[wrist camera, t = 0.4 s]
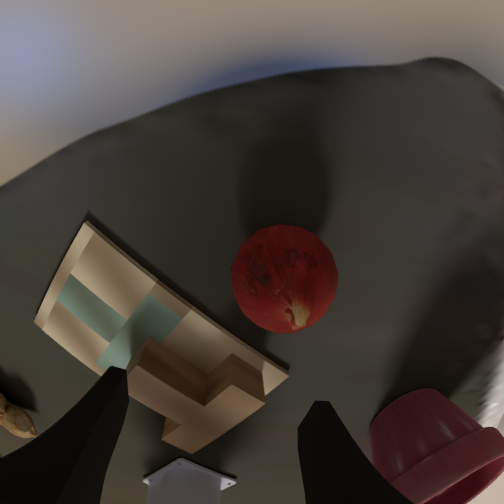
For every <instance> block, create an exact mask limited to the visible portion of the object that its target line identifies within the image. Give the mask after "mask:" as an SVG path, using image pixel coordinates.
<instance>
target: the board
mask: <svg viewBox="0 0 504 504" xmlns="http://www.w3.org/2000/svg"><path fill="white" fill-rule="evenodd" d="M34 323H35V324H37V325H38V326H39V327H40V328H41V329H42V330H43V331H44V332H46V333H47V334H48V335H49V336H50V337H51V338H53V339H54V340H55V341H56V342H57V343H59V344H60V345H61V346H62V347H63V348H65V349H66V350H67V351H68V352H70V353H71V354H72V355H73V356H75V357H76V358H77V359H79V360H80V361H81V362H82V363H84V364H85V365H86V366H88V367H89V368H91V369H92V370H93V371H95V372H96V373H97V374H99V375H100V376H102V375H103V374H104V373H105V371H106V370H107V369H108V368H109V367H110V366H115V367H118V368H122V369H126V367H127V365H128V363H129V361H130V358H131V357H132V356H133V355H134V354H135V352H136V351H137V350H138V349H139V348H140V346H141V345H142V344H143V343H144V342H145V341H146V339H147V338H148V337H149V336H150V337H151V338H153V339H154V340H155V341H157V342H158V343H160V344H161V345H163V346H164V347H165V348H167V349H168V350H170V351H171V352H173V353H174V354H176V355H177V356H179V357H180V358H182V359H183V360H185V361H186V362H188V363H189V364H191V365H192V366H194V367H196V368H197V369H199V370H200V371H202V372H203V373H205V374H207V375H209V374H210V373H211V372H212V371H213V370H214V369H215V368H216V367H217V366H219V365H220V364H221V363H222V362H223V361H224V360H225V359H226V358H227V357H228V356H229V355H231V354H232V353H233V354H235V355H236V356H238V357H239V358H241V359H242V360H244V361H245V362H247V363H249V364H250V365H252V366H253V367H255V368H256V369H258V370H260V371H261V372H262V375H263V384H264V393H265V395H267V394H268V393H269V392H270V391H272V390H273V389H274V388H275V387H277V386H278V385H279V384H280V383H282V382H283V381H284V380H285V379H286V378H288V377H289V373H288V371H287V370H285V369H284V368H282V367H280V366H279V365H277V364H276V363H274V362H273V361H271V360H270V359H268V358H267V357H265V356H264V355H262V354H261V353H259V352H258V351H256V350H255V349H253V348H252V347H250V346H249V345H247V344H246V343H244V342H243V341H242V340H240V339H239V338H237V337H236V336H234V335H233V334H231V333H230V332H229V331H227V330H226V329H224V328H223V327H221V326H220V325H219V324H217V323H216V322H214V321H213V320H212V319H210V318H209V317H208V316H206V315H205V314H203V313H202V312H201V311H199V310H198V309H197V308H195V307H194V306H193V305H191V304H190V303H189V302H187V301H186V300H185V299H183V298H182V297H181V296H179V295H178V294H177V293H175V292H174V291H173V290H171V289H170V288H169V287H167V286H166V285H165V284H164V283H162V282H161V281H160V280H159V279H157V278H156V277H155V276H153V275H152V274H151V273H150V272H148V271H147V270H146V269H145V268H143V267H142V266H141V265H140V264H138V263H137V262H136V261H135V260H134V259H132V258H131V257H130V256H129V255H127V254H126V253H125V252H124V251H123V250H121V249H120V248H119V247H118V246H117V245H115V244H114V243H113V242H112V241H111V240H110V239H108V238H107V237H106V236H105V235H104V234H103V233H101V232H100V231H99V230H98V229H97V228H96V227H94V226H93V225H92V224H91V223H90V222H89V221H87V222H85V223H84V224H83V226H82V227H81V229H80V231H79V232H78V234H77V236H76V238H75V239H74V241H73V243H72V245H71V247H70V248H69V250H68V252H67V254H66V256H65V258H64V260H63V261H62V263H61V265H60V267H59V269H58V271H57V273H56V275H55V277H54V279H53V281H52V283H51V285H50V287H49V289H48V292H47V294H46V296H45V298H44V300H43V302H42V305H41V307H40V309H39V311H38V314H37V316H36V318H35V321H34ZM128 395H129V394H128ZM130 396H131V395H130ZM131 397H133V396H131ZM133 398H134V397H133ZM135 399H136V398H135ZM136 400H137V399H136ZM138 401H139V400H138ZM139 402H141V401H139ZM141 403H142V402H141ZM143 404H144V403H143ZM144 405H146V404H144ZM146 406H147V405H146ZM148 407H149V406H148ZM149 408H151V407H149ZM151 409H152V408H151ZM153 410H154V409H153ZM154 411H156V410H154ZM156 412H157V411H156ZM158 413H159V412H158ZM160 414H161V413H160ZM161 415H163V414H161ZM163 416H164V415H163ZM165 417H166V416H165Z"/></svg>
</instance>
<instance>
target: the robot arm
mask: <svg viewBox="0 0 504 504" xmlns="http://www.w3.org/2000/svg"><path fill="white" fill-rule="evenodd" d="M128 403H129V395H128V381H127V370H126V369H122V368H118V367H115V366H110V367H109V368H108V369H107V370H106V371H105V373H104V374H103V375H102V376H101V378H100V379H99V380H98V381H97V382H96V383H95V384H94V386H93V387H92V388H91V389H90V390H89V391H88V392H87V393H86V394H85V395H84V396H83V397H82V399H81V400H80V401H79V402H78V403H77V404H76V405H75V406H74V407H73V408H72V409H70V410H69V411H68V412H67V413H66V414H65V415H64V416H63V417H62V418H61V419H60V420H58V421H57V422H56V423H55V424H54V425H52V426H51V427H50V428H49V429H47V430H46V431H45V432H44V433H42V434H41V435H39V436H38V437H36V438H35V439H34V440H32V441H31V442H29V443H28V444H26V445H24V446H23V447H21V448H19V449H17V450H15V451H14V452H12V453H10V454H8V455H6V456H4V457H2V458H0V504H100V498H101V493H102V488H103V483H104V478H105V474H106V471H107V468H108V465H109V462H110V459H111V456H112V454H113V451H114V448H115V445H116V443H117V440H118V437H119V435H120V432H121V429H122V426H123V424H124V420H125V416H126V412H127V408H128ZM298 453H299V460H300V466H301V472H302V479H303V485H304V491H305V499H306V504H414V503H413V502H411V501H410V500H409V499H407V498H406V497H405V496H404V495H402V494H401V493H400V492H399V491H398V490H397V489H395V488H394V487H393V486H392V485H391V484H390V483H389V482H388V481H387V480H386V479H385V478H384V477H383V476H382V475H381V474H380V473H379V472H378V471H377V470H376V468H375V467H374V466H373V465H372V464H371V463H370V461H369V460H368V459H367V457H366V456H365V455H364V454H363V452H362V451H361V449H360V448H359V447H358V445H357V444H356V442H355V441H354V439H353V438H352V437H351V435H350V433H349V432H348V430H347V429H346V427H345V426H344V424H343V423H342V421H341V419H340V418H339V416H338V415H337V413H336V411H335V410H334V408H333V407H332V405H331V403H330V402H329V401H315V402H314V403H313V405H312V406H311V408H310V410H309V411H308V413H307V414H306V416H305V418H304V419H303V421H302V422H301V424H300V425H299V427H298ZM143 482H144V483H146V484H148V485H149V488H148V493H147V498H146V503H145V504H221V490H223V489H225V488H227V487H229V486H231V485H234V484H236V479H233V478H231V477H228V476H225V475H223V474H220V473H217V472H215V471H212V470H210V469H207V468H205V467H202V466H200V465H198V464H195V463H193V462H191V461H189V460H186V459H184V458H178V459H177V460H175V461H173V462H172V463H170V464H168V465H167V466H165V467H163V468H162V469H160V470H158V471H156V472H155V473H153V474H151V475H149V476H148V477H146V478H144V479H143Z"/></svg>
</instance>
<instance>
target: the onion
mask: <svg viewBox="0 0 504 504" xmlns="http://www.w3.org/2000/svg"><path fill="white" fill-rule="evenodd" d="M231 274H232V287H233V295H234V297H235V299H236V301H237V302H238V304H239V306H240V308H241V310H242V312H243V313H244V315H245V316H247V317H248V318H249V319H250V320H252V321H253V322H254V323H255V324H257V325H258V326H260V327H262V328H264V329H267V330H270V331H273V332H275V333H291V332H297V331H300V330H302V329H305V328H307V327H310V326H311V325H313V324H314V323H315V322H316V321H318V320H319V319H320V318H321V317H323V316H324V314H325V313H326V311H327V310H328V308H329V306H330V305H331V303H332V301H333V300H334V298H335V293H336V288H337V282H338V272H337V268H336V265H335V261H334V258H333V255H332V253H331V252H330V250H329V249H328V248H327V246H326V245H325V244H324V243H323V242H322V241H321V239H320V238H319V237H318V236H316V235H314V234H312V233H310V232H309V231H307V230H305V229H303V228H301V227H299V226H291V225H282V224H278V225H274V226H270V227H267V228H263V229H260V230H257V231H256V232H255V233H254V234H253V235H252V236H250V237H249V238H248V239H247V240H246V241H245V242H244V243H242V245H241V247H240V249H239V251H238V253H237V255H236V258H235V260H234V262H233V265H232V267H231Z"/></svg>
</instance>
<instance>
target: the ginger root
mask: <svg viewBox="0 0 504 504" xmlns="http://www.w3.org/2000/svg"><path fill="white" fill-rule="evenodd" d="M0 425H2V426H4V427H5V428H6V429H8V430H9V431H10V432H11V433H13V434H14V435H17V436H19V437H21V438H30V437H37V435H38V434H37V431H36V429H35V425H34V422H33V420H32V418H31V417H30V416H29V415H28V413H27V412H26V411H24V410H23V409H21V408H19V407H18V406H16V405H13V404H12V403H10V402H8V401H7V400H6V399H5V397H4V396H3V395H2V394H1V393H0Z"/></svg>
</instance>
